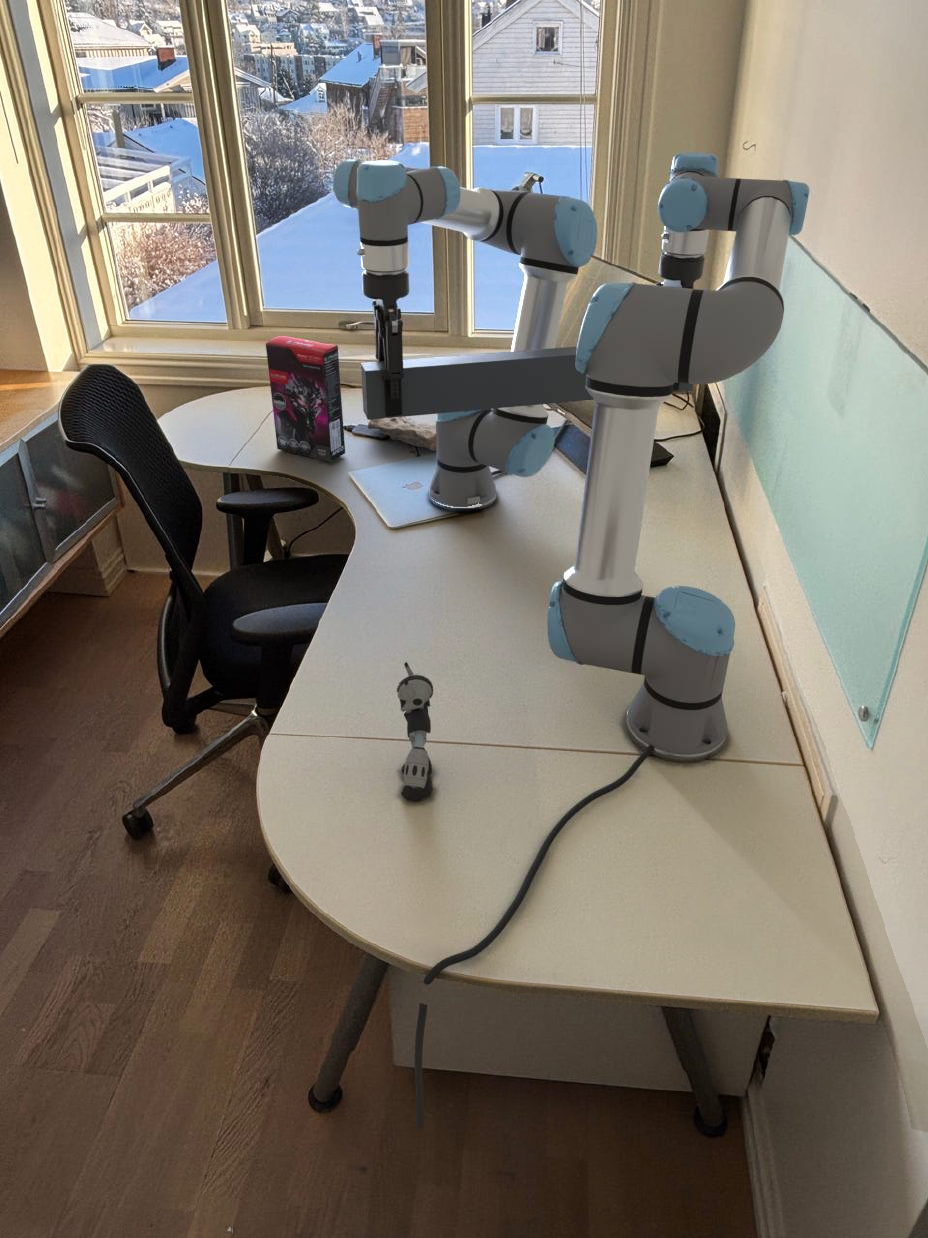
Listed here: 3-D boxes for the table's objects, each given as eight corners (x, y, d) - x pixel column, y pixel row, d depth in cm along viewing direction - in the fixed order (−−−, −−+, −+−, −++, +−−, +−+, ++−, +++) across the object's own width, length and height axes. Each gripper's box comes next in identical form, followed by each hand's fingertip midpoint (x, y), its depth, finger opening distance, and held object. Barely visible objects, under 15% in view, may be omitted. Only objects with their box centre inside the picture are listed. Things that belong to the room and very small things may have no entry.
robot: (436, 831, 125) (434, 718, 114) (400, 833, 125) (395, 719, 114) (432, 736, 141) (431, 628, 130) (401, 737, 141) (396, 629, 130)
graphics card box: (274, 450, 230) (262, 341, 215) (291, 440, 235) (280, 333, 220) (331, 464, 224) (323, 352, 209) (347, 453, 229) (340, 344, 214)
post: (681, 382, 174) (688, 337, 170) (692, 390, 171) (699, 345, 166) (363, 410, 161) (360, 362, 156) (367, 419, 157) (365, 370, 153)
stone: (352, 434, 231) (356, 410, 229) (373, 426, 244) (377, 403, 242) (430, 458, 227) (435, 434, 225) (447, 448, 241) (452, 426, 238)
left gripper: (353, 258, 153) (361, 393, 166) (371, 284, 139) (378, 430, 152) (397, 255, 155) (402, 390, 168) (420, 281, 141) (423, 426, 154)
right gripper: (641, 243, 164) (627, 371, 177) (685, 266, 150) (666, 403, 163) (680, 241, 166) (663, 368, 179) (727, 263, 152) (705, 400, 165)
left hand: (391, 409), depth 160 cm, fingers closed on post, 4 cm apart
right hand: (664, 385), depth 171 cm, fingers closed on post, 4 cm apart
